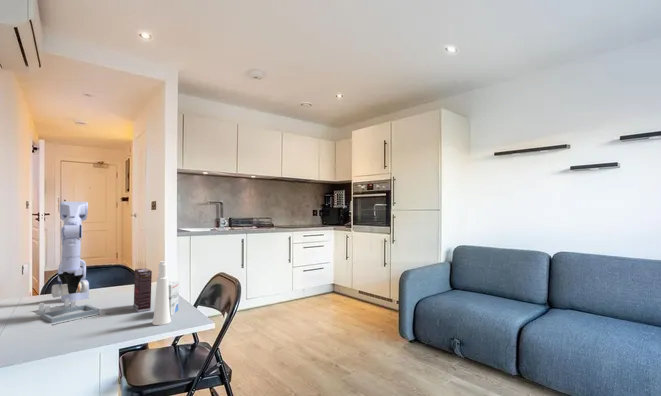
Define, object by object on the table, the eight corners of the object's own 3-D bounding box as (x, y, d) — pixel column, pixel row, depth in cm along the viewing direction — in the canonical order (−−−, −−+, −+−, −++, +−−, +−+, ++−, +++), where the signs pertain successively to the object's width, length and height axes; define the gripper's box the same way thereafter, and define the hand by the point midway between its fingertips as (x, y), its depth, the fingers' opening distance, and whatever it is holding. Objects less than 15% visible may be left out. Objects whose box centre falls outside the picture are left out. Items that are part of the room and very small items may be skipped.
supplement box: (151, 310, 140) (152, 270, 141) (138, 312, 137) (138, 272, 138) (146, 305, 147) (146, 267, 147) (133, 307, 144) (134, 269, 144)
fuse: (82, 291, 137) (82, 279, 137) (87, 293, 134) (87, 281, 134) (51, 296, 129) (51, 284, 129) (55, 298, 126) (56, 285, 126)
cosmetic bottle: (168, 324, 123) (169, 262, 123) (149, 325, 121) (151, 262, 122) (172, 319, 128) (173, 259, 129) (155, 320, 127) (156, 260, 128)
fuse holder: (71, 305, 146) (71, 297, 146) (81, 309, 141) (81, 300, 141) (32, 313, 135) (32, 303, 135) (41, 317, 130) (41, 308, 130)
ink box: (166, 310, 141) (166, 280, 141) (178, 309, 141) (179, 280, 141) (157, 316, 132) (158, 285, 132) (170, 316, 132) (171, 285, 133)
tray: (86, 310, 140) (87, 304, 140) (99, 314, 134) (99, 309, 134) (40, 319, 128) (40, 313, 128) (51, 325, 121) (51, 318, 121)
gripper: (51, 256, 133) (49, 292, 132) (66, 259, 125) (65, 297, 124) (72, 254, 139) (71, 288, 138) (88, 257, 131) (87, 293, 130)
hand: (70, 292), depth 132 cm, fingers closed on fuse, 4 cm apart
